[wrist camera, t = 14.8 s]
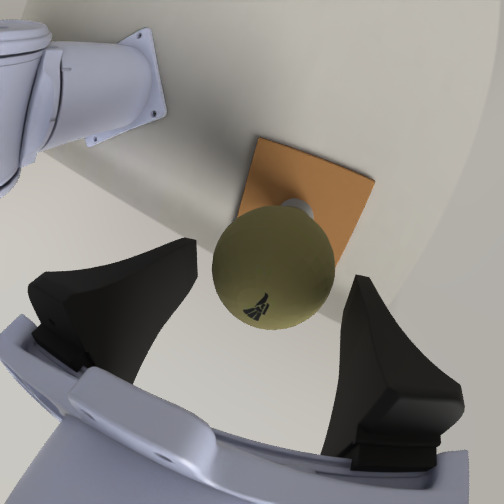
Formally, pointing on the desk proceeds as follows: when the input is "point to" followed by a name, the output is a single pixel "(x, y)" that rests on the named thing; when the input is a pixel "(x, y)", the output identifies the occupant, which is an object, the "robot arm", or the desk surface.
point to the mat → (307, 189)
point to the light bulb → (274, 266)
